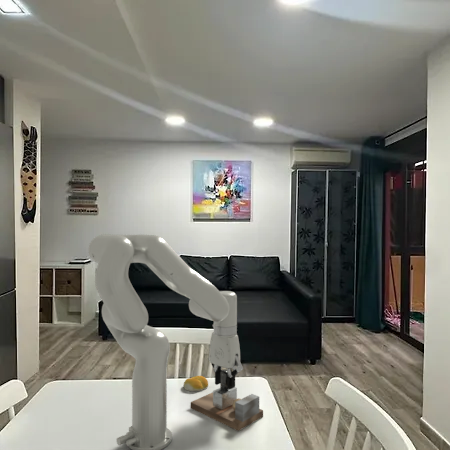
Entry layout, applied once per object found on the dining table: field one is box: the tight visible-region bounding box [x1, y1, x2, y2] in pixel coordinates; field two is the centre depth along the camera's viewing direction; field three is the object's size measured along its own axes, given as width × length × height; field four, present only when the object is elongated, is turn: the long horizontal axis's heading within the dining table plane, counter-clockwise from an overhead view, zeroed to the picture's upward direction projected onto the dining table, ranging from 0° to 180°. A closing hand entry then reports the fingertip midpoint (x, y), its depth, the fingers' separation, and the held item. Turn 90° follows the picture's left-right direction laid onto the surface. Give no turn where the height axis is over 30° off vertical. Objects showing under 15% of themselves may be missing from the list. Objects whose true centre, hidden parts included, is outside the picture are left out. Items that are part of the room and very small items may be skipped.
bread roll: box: [183, 375, 209, 393], centre depth 149 cm, size 8×9×4 cm
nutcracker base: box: [190, 391, 264, 432], centre depth 129 cm, size 12×21×7 cm, turn 47°
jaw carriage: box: [212, 368, 238, 410], centre depth 130 cm, size 7×4×11 cm, turn 137°
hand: (225, 385), depth 130 cm, fingers open, 4 cm apart
